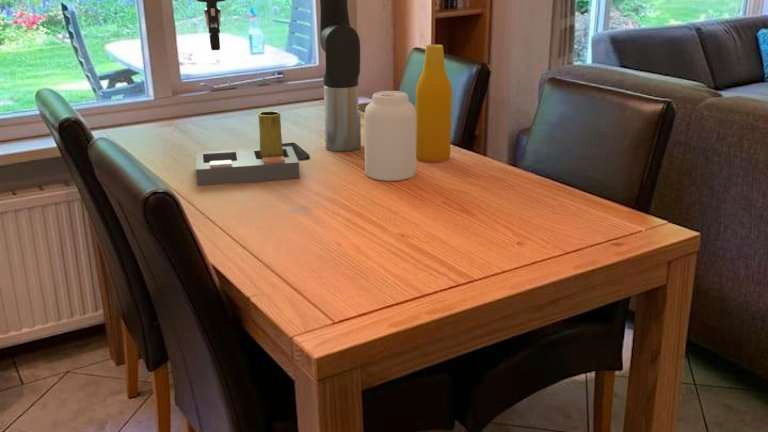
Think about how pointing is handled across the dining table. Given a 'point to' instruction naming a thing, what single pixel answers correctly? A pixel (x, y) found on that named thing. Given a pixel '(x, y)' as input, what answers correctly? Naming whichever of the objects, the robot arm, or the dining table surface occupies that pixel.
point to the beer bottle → (433, 108)
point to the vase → (270, 134)
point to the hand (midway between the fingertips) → (215, 47)
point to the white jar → (390, 137)
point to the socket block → (244, 166)
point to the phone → (297, 151)
